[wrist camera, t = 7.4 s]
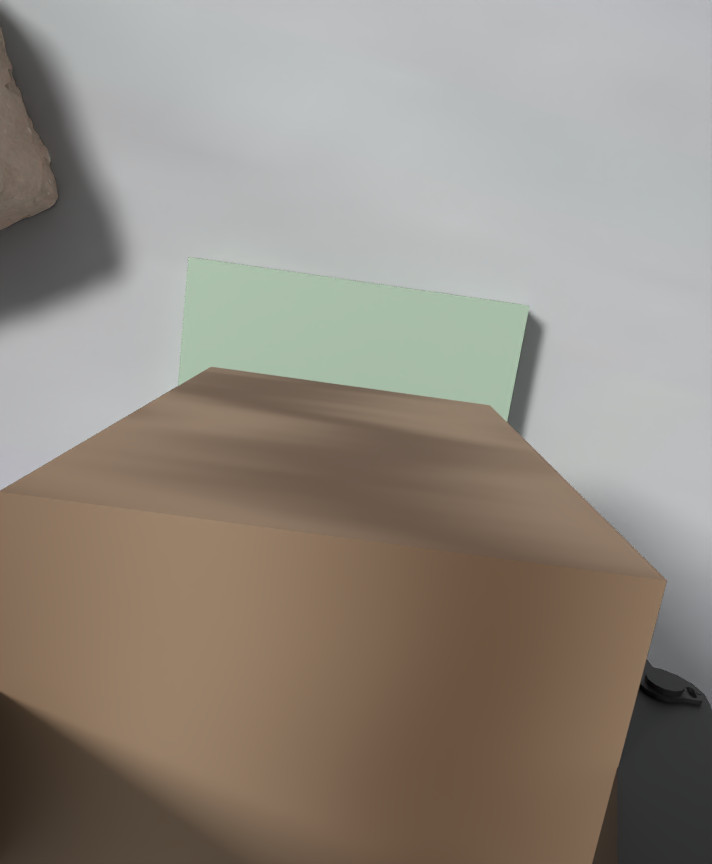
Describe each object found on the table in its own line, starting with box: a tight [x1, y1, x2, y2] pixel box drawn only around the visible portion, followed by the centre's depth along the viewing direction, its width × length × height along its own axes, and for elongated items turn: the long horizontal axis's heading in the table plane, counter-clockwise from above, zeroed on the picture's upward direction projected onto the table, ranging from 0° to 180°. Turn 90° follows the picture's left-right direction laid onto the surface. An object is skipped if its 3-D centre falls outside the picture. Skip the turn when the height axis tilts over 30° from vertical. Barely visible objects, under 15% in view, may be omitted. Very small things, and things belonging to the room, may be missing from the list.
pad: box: [178, 257, 529, 422], centre depth 25 cm, size 12×12×1 cm
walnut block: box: [0, 367, 667, 864], centre depth 13 cm, size 7×7×10 cm
